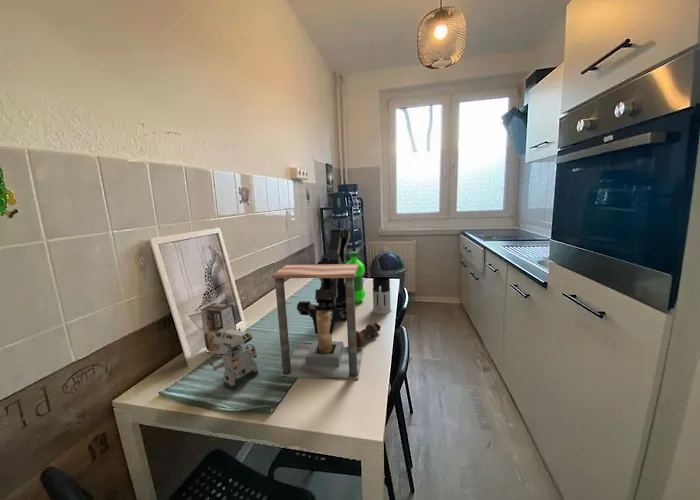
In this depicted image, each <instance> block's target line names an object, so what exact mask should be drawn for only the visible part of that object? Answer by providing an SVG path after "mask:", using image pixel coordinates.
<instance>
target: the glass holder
mask: <svg viewBox="0 0 700 500" xmlns="http://www.w3.org/2000/svg"><path fill="white" fill-rule="evenodd" d="M390 281H391V280H390V278H389V277H388V276H377V277H376V276H375V277H373V278H372V305H373V307H372V312H373V313H374V314H377V315H386V314H387V315H388V314H390V313H391V312H392V311H393V310H392V309H391V308H392V307H391V287H390V285H391V282H390Z"/></svg>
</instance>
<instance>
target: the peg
mask: <svg viewBox="0 0 700 500" xmlns="http://www.w3.org/2000/svg"><path fill="white" fill-rule="evenodd" d="M316 316H317V331H318V333H317V341H318V346H319V353H320V354H329V353H331V352H332V341H333V337H332V335H333V333H332V334H330V328H331V323H332V319H331V318H332V315H331V311H328V310H321V311H318V312H317V313H316Z"/></svg>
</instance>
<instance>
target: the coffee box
mask: <svg viewBox="0 0 700 500" xmlns="http://www.w3.org/2000/svg"><path fill="white" fill-rule="evenodd" d="M235 316H236V315H235V308H234V304H231V303H228V304H227V303H216V302H215V303H214V302H213V303H211V304H208V305H206V306H205V307H203V308H201V309H200V317H201V323H202V329H203V336H204V343H205V348H207V350H208V351H210V352H211V353H210V354H216V355H221V354H223V353H224V352H226V351H227V350H228V349H227V347H228V346H223V345H219V344H214V342H213V339H214V337H215V335H216V333H217V331H218V330H220V329H222V328H227V329H232V330H237V323H236V317H235Z"/></svg>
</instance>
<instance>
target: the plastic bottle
mask: <svg viewBox="0 0 700 500" xmlns="http://www.w3.org/2000/svg"><path fill="white" fill-rule="evenodd" d="M349 257H350V260H348V261H347V262H345V264H358V265H359V267H358V270H357V272H356V275H355V277H354V296H355V304H358V303H361V301H362V300H364V299H365V297H366V292H365V290H364V282H363V277H364V276H363V275H364V274H365V271H366V267H365V264H364V263H363V262H362V261H361V260H359V259H358V257H359V252H358V251H350V252H349Z"/></svg>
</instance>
